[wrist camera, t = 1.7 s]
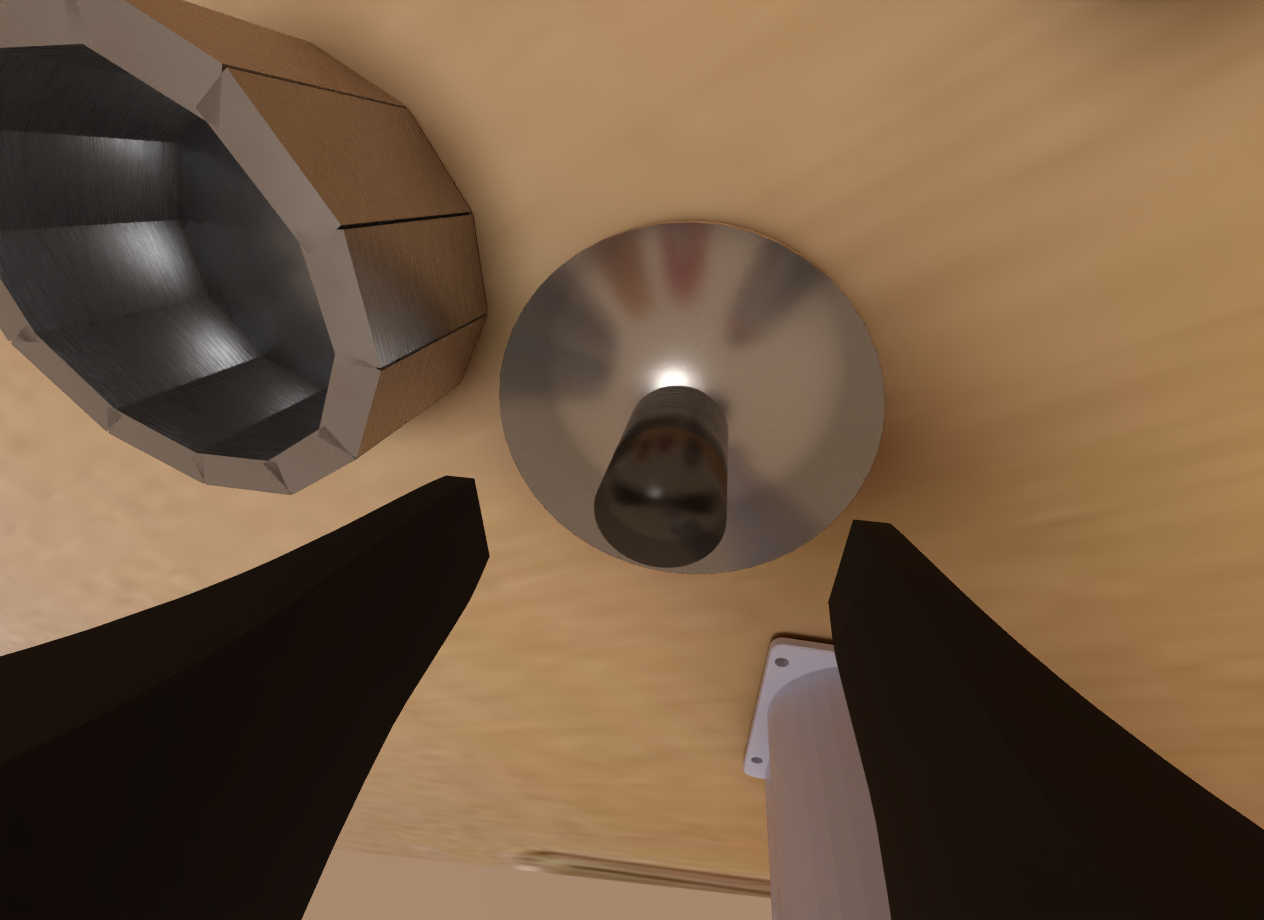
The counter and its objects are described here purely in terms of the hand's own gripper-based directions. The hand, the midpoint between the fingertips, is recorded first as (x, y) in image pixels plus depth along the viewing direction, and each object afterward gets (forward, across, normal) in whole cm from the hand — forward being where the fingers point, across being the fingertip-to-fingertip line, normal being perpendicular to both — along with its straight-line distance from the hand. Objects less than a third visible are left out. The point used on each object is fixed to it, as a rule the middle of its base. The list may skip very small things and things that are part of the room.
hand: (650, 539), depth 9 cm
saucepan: (+6, +14, -4) cm, 16 cm away
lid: (+6, 0, 0) cm, 6 cm away
